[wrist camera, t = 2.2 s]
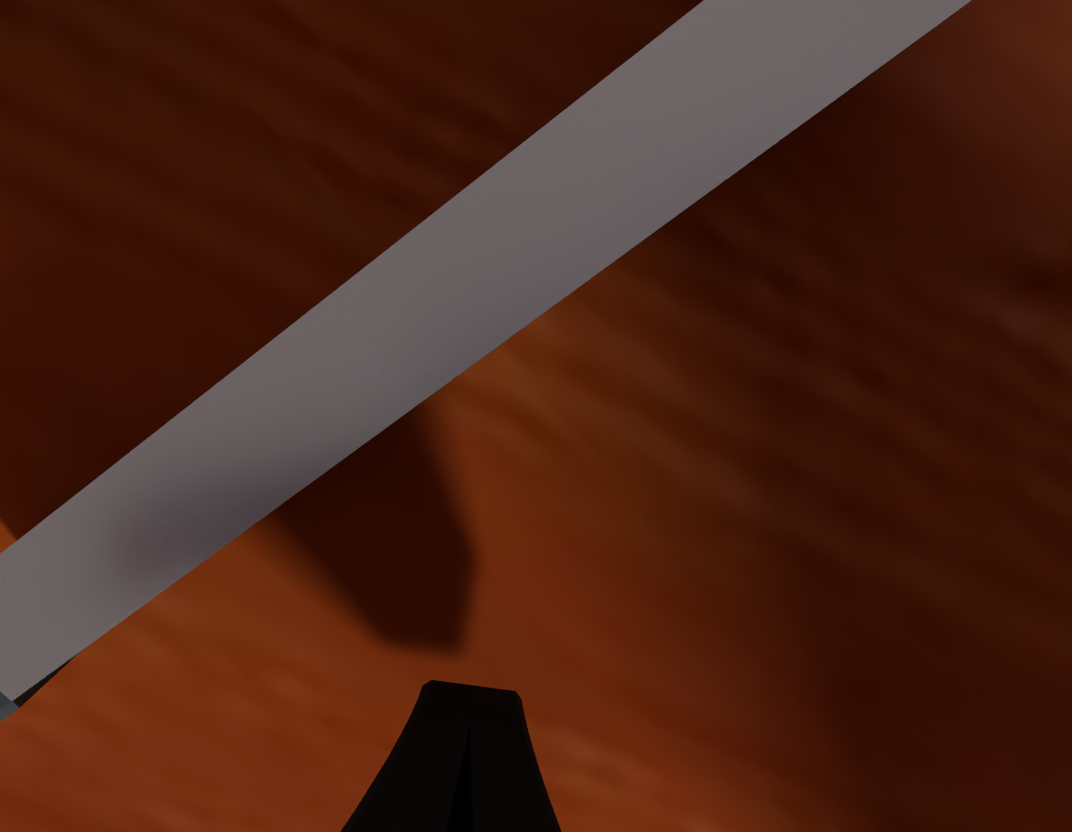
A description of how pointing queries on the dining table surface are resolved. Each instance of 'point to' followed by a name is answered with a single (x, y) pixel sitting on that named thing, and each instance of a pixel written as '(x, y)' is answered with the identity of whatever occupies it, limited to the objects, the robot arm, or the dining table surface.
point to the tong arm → (438, 305)
